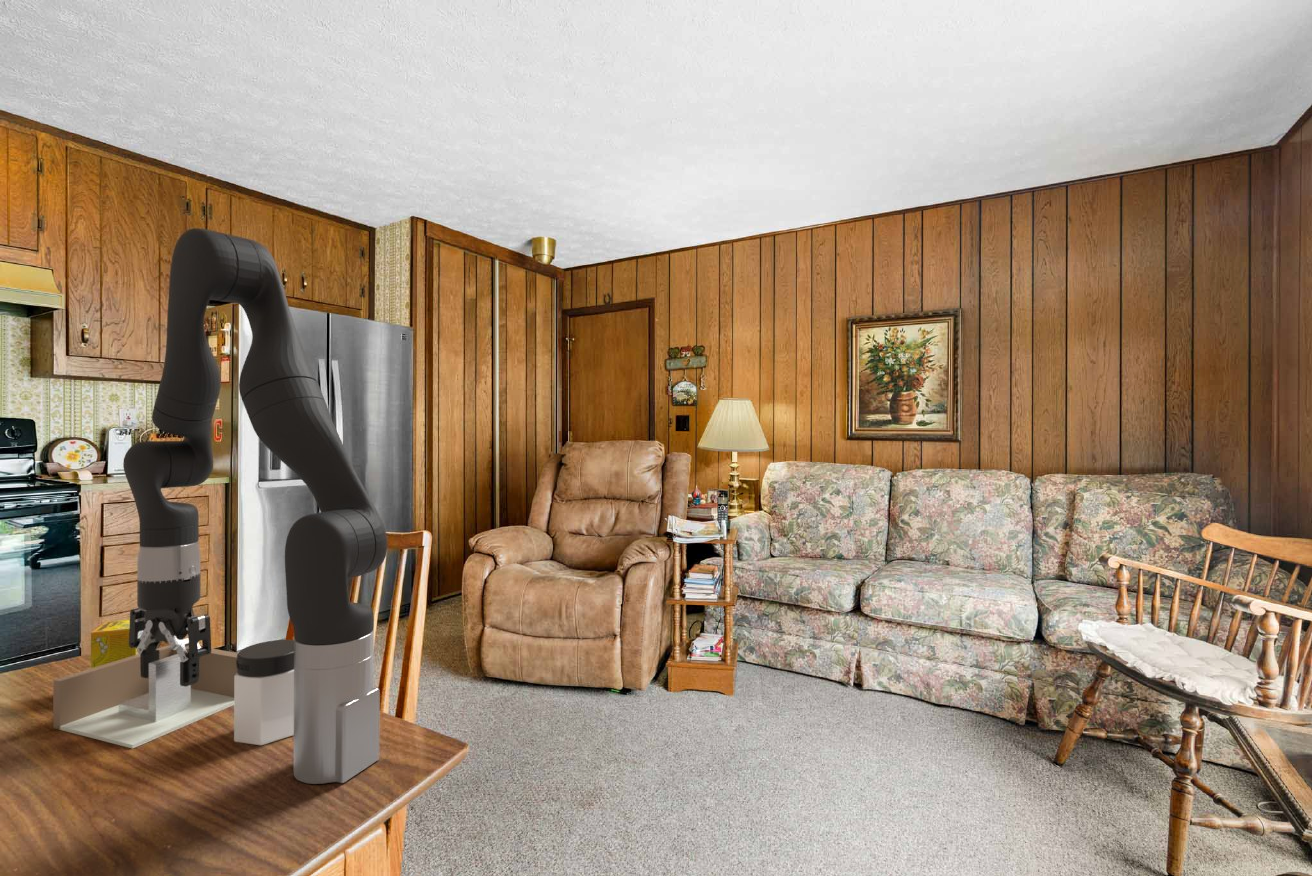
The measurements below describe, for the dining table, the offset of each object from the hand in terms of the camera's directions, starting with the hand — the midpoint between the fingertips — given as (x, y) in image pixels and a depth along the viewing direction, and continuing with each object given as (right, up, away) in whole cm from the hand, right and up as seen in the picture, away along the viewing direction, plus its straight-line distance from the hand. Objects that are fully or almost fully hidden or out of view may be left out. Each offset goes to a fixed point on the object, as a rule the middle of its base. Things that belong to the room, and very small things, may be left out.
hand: (169, 680), depth 94 cm
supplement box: (-16, -6, +10) cm, 19 cm away
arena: (-3, -6, +2) cm, 7 cm away
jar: (+18, -6, -4) cm, 19 cm away
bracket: (-3, -5, +1) cm, 6 cm away
